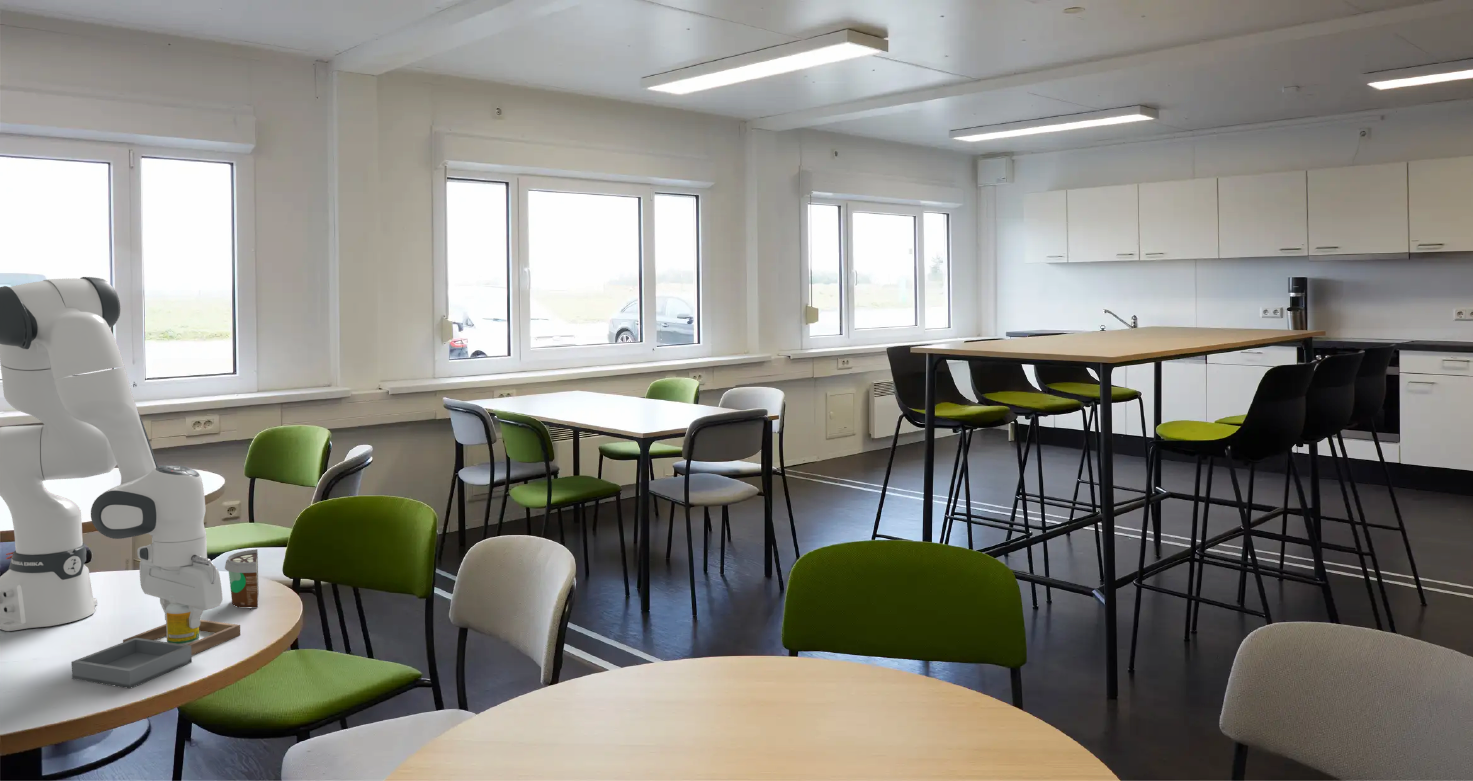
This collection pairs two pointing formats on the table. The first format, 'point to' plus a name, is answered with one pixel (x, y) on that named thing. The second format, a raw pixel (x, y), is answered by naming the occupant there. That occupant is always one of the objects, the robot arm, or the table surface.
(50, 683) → the table surface
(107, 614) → the table surface
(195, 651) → the wooden square frame
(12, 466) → the robot arm
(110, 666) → the tray
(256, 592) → the food container
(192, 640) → the supplement bottle
